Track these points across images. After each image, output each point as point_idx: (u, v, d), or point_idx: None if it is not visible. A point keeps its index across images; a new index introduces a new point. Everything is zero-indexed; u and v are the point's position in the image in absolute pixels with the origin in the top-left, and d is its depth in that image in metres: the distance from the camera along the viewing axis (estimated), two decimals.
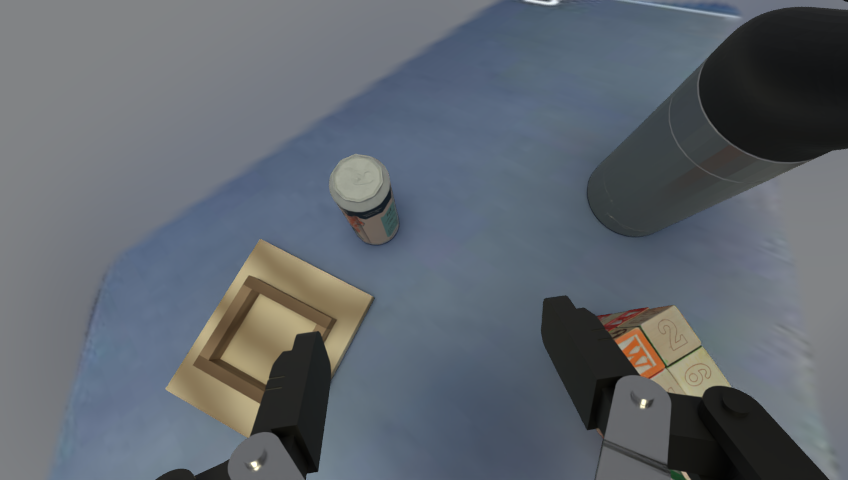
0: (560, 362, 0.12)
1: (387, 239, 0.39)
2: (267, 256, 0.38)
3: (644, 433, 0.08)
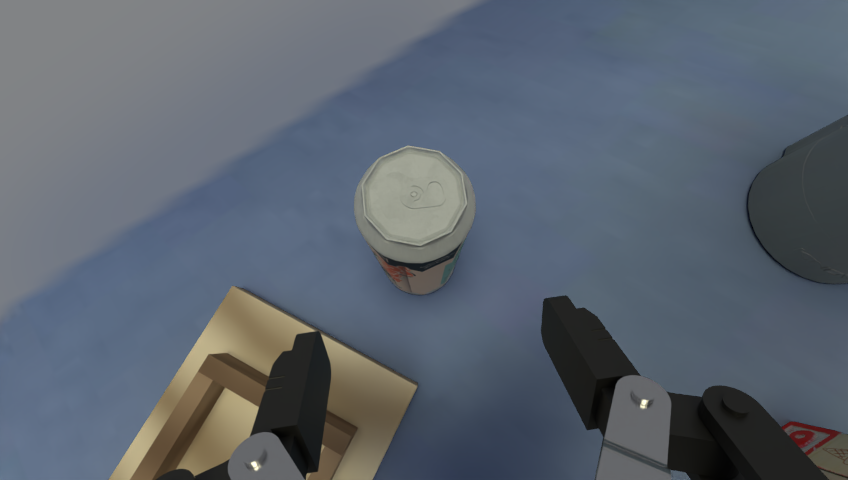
0: (560, 362, 0.12)
1: (438, 287, 0.24)
2: (244, 316, 0.23)
3: (645, 433, 0.08)
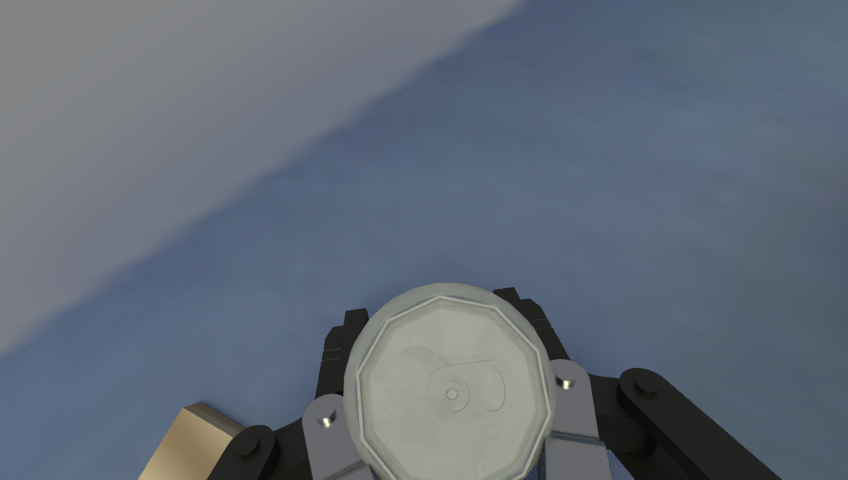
0: None
1: None
2: (197, 452, 0.17)
3: (575, 413, 0.09)
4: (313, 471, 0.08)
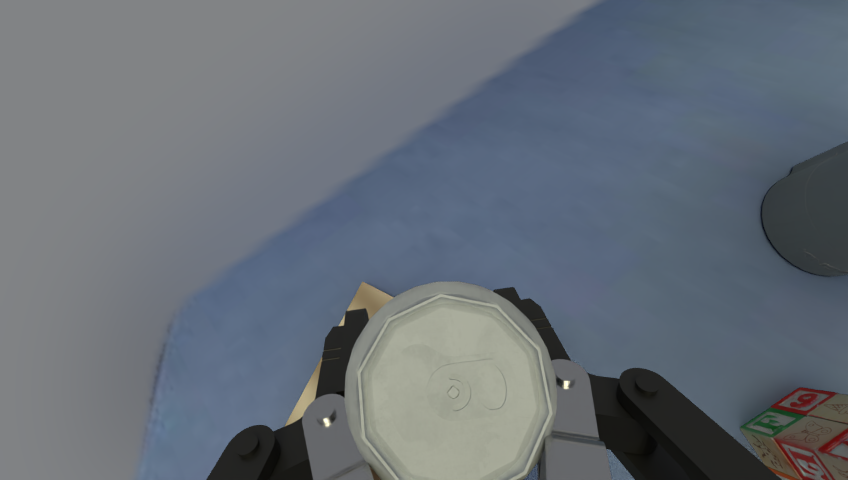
0: None
1: None
2: (373, 304, 0.30)
3: (575, 413, 0.09)
4: (313, 471, 0.08)
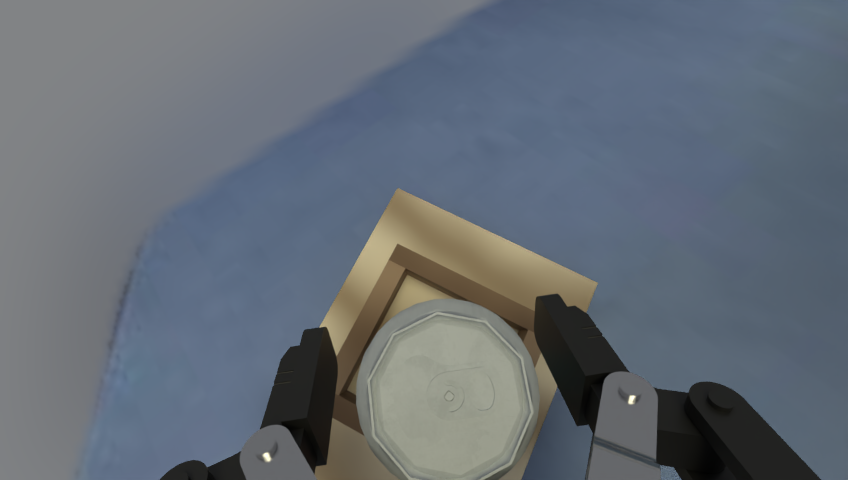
0: (551, 359, 0.13)
1: None
2: (413, 216, 0.23)
3: (634, 429, 0.09)
4: None
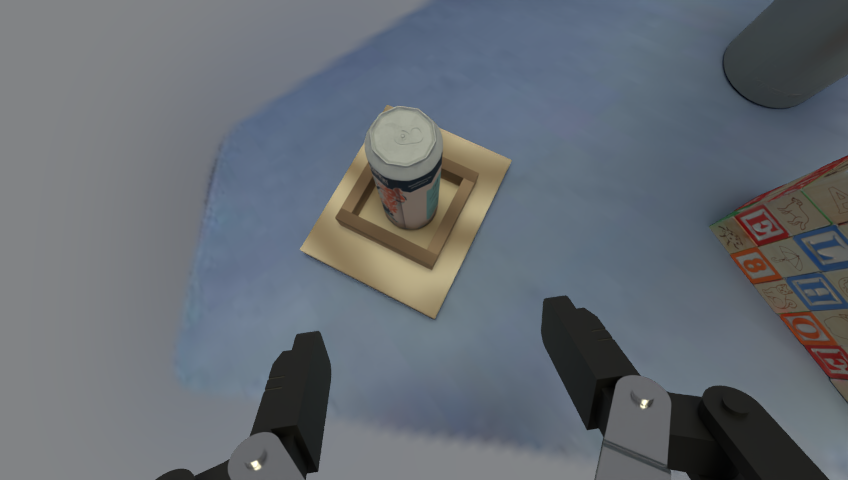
0: (560, 362, 0.12)
1: (425, 222, 0.32)
2: None
3: (645, 434, 0.08)
4: None
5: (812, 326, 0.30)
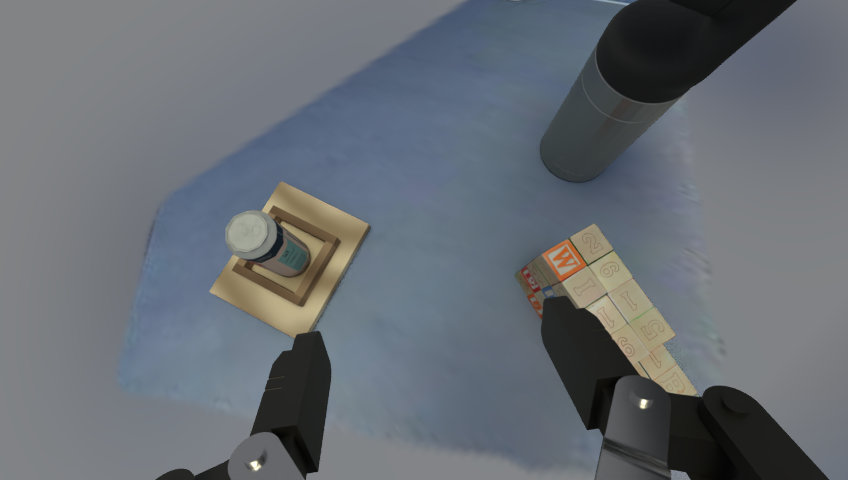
0: (560, 362, 0.12)
1: (298, 272, 0.45)
2: (287, 194, 0.48)
3: (645, 434, 0.08)
4: None
5: None
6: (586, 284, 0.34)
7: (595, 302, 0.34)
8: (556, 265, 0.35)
